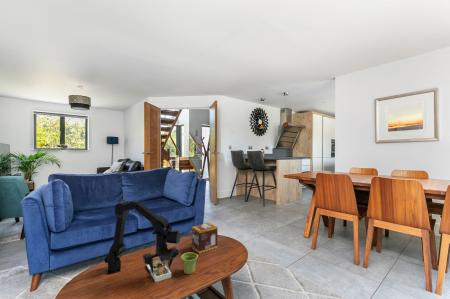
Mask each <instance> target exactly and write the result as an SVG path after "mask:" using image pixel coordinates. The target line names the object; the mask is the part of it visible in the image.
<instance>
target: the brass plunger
mask: <svg viewBox="0 0 450 299" xmlns="http://www.w3.org/2000/svg"><path fill="white" fill-rule="evenodd" d="M152 262H153V268H157V263H159V262H161V261H160V259H157V260H154V261H152Z"/></svg>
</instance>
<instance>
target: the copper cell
mask: <svg viewBox="0 0 450 299" xmlns="http://www.w3.org/2000/svg"><path fill="white" fill-rule="evenodd" d="M165 263H166V261H164V262H159V263H157V276H160V275H163V274H165Z"/></svg>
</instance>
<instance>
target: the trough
mask: <svg viewBox="0 0 450 299" xmlns="http://www.w3.org/2000/svg"><path fill="white" fill-rule="evenodd" d="M150 276H151V277H152V279H153V280H154V282H155V283H157V282H160V281H163V280H167V279H170V278H172V272H171V270H170V268H167V266H165V274H163V275H160V276H157V269H154V270H153V273H152V271H151V273H150Z"/></svg>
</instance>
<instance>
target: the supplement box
mask: <svg viewBox="0 0 450 299" xmlns="http://www.w3.org/2000/svg"><path fill="white" fill-rule="evenodd" d="M214 248H215V249H217V248H218V226H217V225H215V224H213V223H211V222H207V223H202V224H197V225H194V226H192V227H191V249H192V250H193V251H195V252H197V254H202V252H203V253H205V251H206V252H209V251H212V250H215V249H214ZM211 249H212V250H211ZM208 250H209V251H208Z"/></svg>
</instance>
